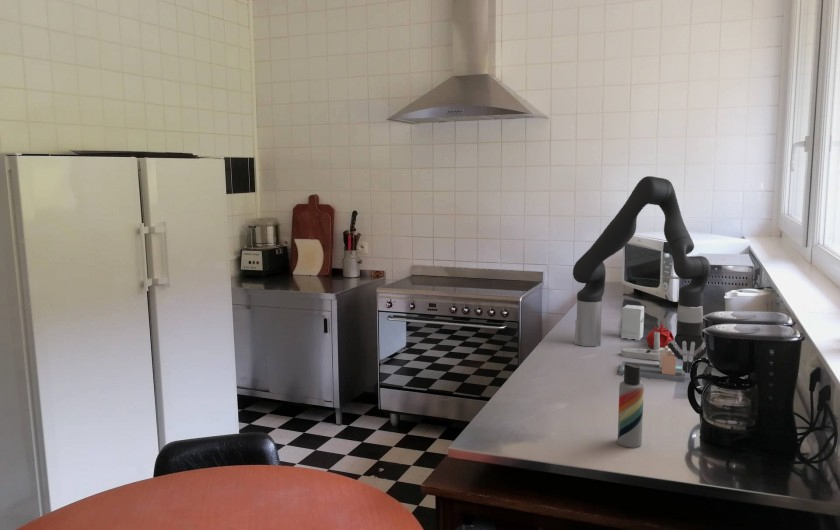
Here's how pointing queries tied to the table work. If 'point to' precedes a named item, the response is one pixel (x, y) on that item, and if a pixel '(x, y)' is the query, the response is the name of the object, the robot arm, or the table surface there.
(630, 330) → the supplement box
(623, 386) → the lotion bottle
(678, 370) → the switch panel
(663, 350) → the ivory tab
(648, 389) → the table surface
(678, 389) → the table surface
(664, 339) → the pomegranate
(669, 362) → the terracotta tab
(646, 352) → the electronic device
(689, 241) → the robot arm
